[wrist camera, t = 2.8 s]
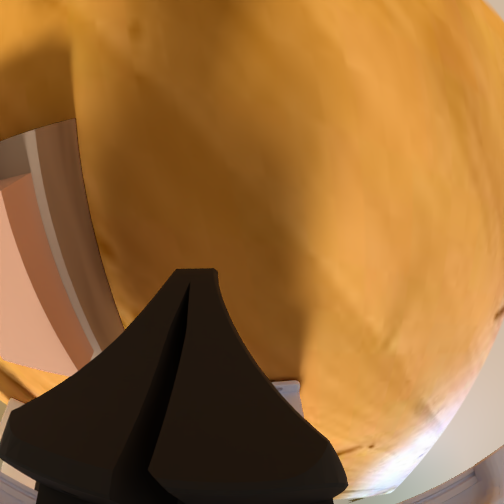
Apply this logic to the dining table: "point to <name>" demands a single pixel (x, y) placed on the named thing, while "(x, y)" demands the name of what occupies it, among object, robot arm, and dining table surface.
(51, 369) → the terracotta tile
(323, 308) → the dining table surface
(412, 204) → the dining table surface
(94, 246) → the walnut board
